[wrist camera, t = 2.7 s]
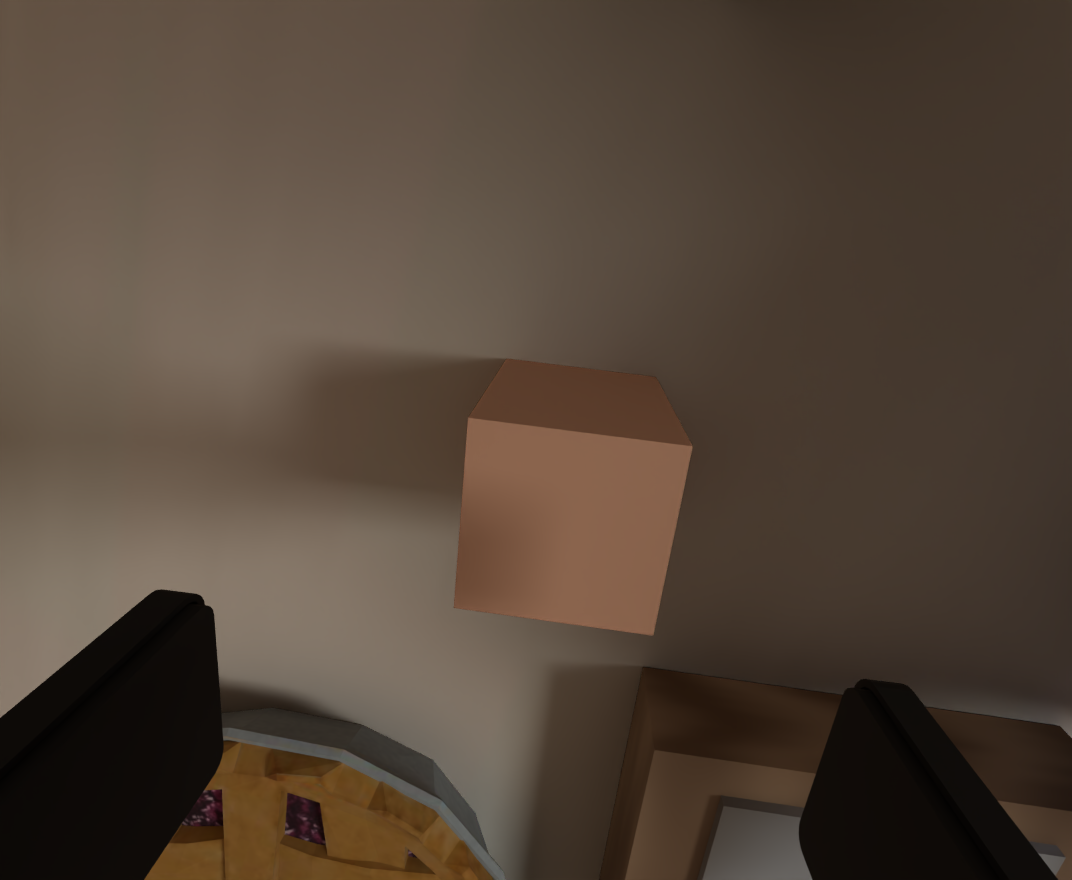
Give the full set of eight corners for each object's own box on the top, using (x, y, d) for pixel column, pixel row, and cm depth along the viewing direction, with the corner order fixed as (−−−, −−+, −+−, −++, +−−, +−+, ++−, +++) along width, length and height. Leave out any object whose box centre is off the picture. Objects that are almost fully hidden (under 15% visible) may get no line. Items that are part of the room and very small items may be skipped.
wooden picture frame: (1059, 726, 23) (1166, 835, 18) (938, 963, 27) (1002, 1094, 23) (643, 666, 23) (655, 760, 19) (592, 909, 28) (594, 1026, 24)
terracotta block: (655, 377, 20) (692, 446, 13) (631, 512, 21) (653, 635, 15) (506, 358, 20) (468, 418, 13) (494, 494, 21) (453, 608, 15)
